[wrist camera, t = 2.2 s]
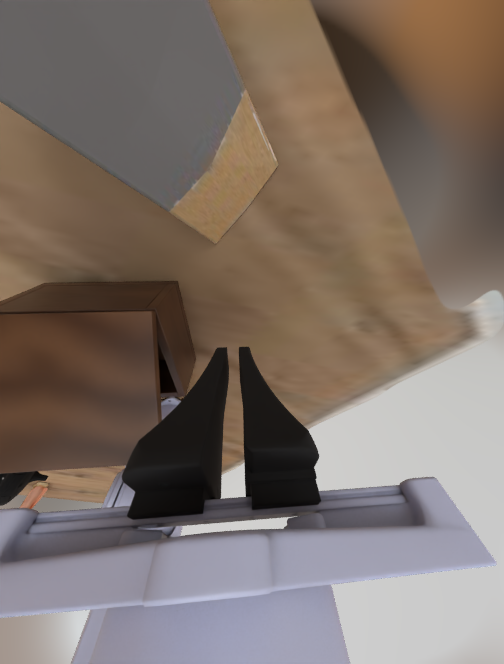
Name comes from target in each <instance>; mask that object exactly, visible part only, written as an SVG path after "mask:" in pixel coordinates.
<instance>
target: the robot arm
mask: <svg viewBox="0 0 504 664" xmlns="http://www.w3.org/2000/svg"><path fill="white" fill-rule="evenodd" d="M239 365H240V384H241V393H242V402H243V418H244V458H245V486H246V497H238V498H225V499H220V498H221V471H222V443H223V420H224V411H225V404H226V397H227V389H228V381H229V365H228V355H227V347H226V348H217V349H216V351H215V353H214V355H213V357H212V359H211V361H210V363H209V364H208V366H207V368H206V369H205V371H204V372H203V374H202V375H201V377H200V378H199V380H198V381H197V383H196V384H195V385H194V387H193V388H192V389H191V390H190V392H189V393H188V394H187V395H186V396H185V397H184V399H183V400H182V401H180V400H179V399H177V398H175V397H168V398H167V399H165V400H163V401H162V402H161V411H162V421H161V422H160V423H159V424H158V425H156V426H155V427H154V428H153V429H152V430H151V431H149V432H148V433H147V434H146V435H145V436H143V437H142V438H141V439H140V440H139V441H138V443H137V444H136V446H135V448H134V450H133V452H132V454H131V456H130V458H129V460H128V462H127V465H125V469H123V470H122V471H121V472H119V473H118V474H117V475H116V477H115V479H114V481H113V483H112V485H111V487H110V489H109V492H108V494H107V496H106V498H105V500H104V503H103V505H102V507H101V508H97V509H82V510H70V511H57V512H43V513H38V511H36V510H33V509H29V508H11V509H0V618H3V617H15V616H26V615H37V614H48V613H57V612H58V613H59V612H70V611H80V610H90V612H89V615H88V618H87V621H86V623H85V626H84V629H83V631H82V634H81V637H80V640H79V642H78V645H77V648H76V651H75V653H74V656H73V659H72V661H71V664H350V661H349V657H348V653H347V649H346V645H345V640H344V636H343V632H342V628H341V624H340V620H339V616H338V611H337V607H336V603H335V599H334V595H333V591H332V587H331V584H340V583H348V582H356V581H365V580H374V579H382V578H391V577H398V576H408V575H417V574H425V573H434V572H442V571H451V570H460V569H468V568H478V567H488V566H496V561H495V560H494V558H493V557H492V556H491V554H490V553H489V552H488V550H487V549H486V547H485V546H484V544H483V543H482V542H481V540H480V539H479V537H478V536H477V534H476V533H475V532H474V530H473V529H472V528H471V526H470V525H469V523H468V522H467V521H466V519H465V518H464V516H463V515H462V514H461V512H460V511H459V509H458V508H457V507H456V505H455V504H454V502H453V501H452V500H451V499H450V497H449V495H448V494H447V493H446V491H445V490H444V488H443V487H442V486H441V484H440V483H439V482H438V480H437V479H436V478H435V477H425V478H412V479H407V480H405V481H403V482H401V483H400V485H396V486H382V487H369V488H356V489H343V490H330V491H318V487H317V484H316V480H315V479H316V473H315V469H314V466H315V464H316V463H317V461H318V459H319V454H318V450H317V448H316V445H315V443H314V441H313V439H312V437H311V435H310V433H309V431H308V430H307V429H306V428H305V427H304V426H303V425H302V424H301V423H300V422H299V421H298V420H297V419H296V418H295V417H294V416H293V415H292V414H291V413H290V412H289V411H288V410H287V409H286V408H285V407H284V405H283V404H282V403H281V402H280V401H279V400H278V398H277V397H276V396H275V395H274V393H273V392H272V391H271V389H270V388H269V386H268V385H267V383H266V382H265V380H264V379H263V377H262V375H261V374H260V372H259V370H258V368H257V366H256V364H255V362H254V360H253V357H252V355H251V351H250V348H249V347H239ZM293 516H298V517H293ZM281 517H293V518H289V519H288V520H287V526H286V527H284V529H261V530H239V531H224V532H213V533H203V534H194V535H185V536H180V535H181V530H182V526H185V525H197V524H209V523H221V522H233V521H245V520H256V519H269V518H281Z"/></svg>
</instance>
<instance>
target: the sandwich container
mask: <svg viewBox="0 0 504 664" xmlns="http://www.w3.org/2000/svg"><path fill="white" fill-rule="evenodd" d="M0 102H2V103H3V104H5V105H6V106H8V107H9V108H11V109H12V110H14V111H15V112H17V113H18V114H20V115H22V116H23V117H25V118H26V119H28V120H29V121H31V122H32V123H34V124H35V125H37V126H38V127H40V128H41V129H43V130H44V131H46V132H47V133H49V134H50V135H52V136H53V137H55V138H57V139H58V140H60V141H61V142H63V143H64V144H66V145H67V146H69V147H70V148H72V149H73V150H75V151H76V152H78V153H79V154H81V155H82V156H84V157H85V158H87V159H89V160H90V161H92V162H93V163H95V164H96V165H98V166H99V167H101V168H102V169H104V170H105V171H107V172H108V173H110V174H111V175H113V176H114V177H116V178H118V179H119V180H121V181H122V182H124V183H125V184H127V185H128V186H130V187H131V188H133V189H134V190H136V191H137V192H139V193H140V194H142V195H143V196H145V197H146V198H148V199H149V200H151V201H153V202H154V203H156V204H157V205H159V206H160V207H162V208H163V209H165V210H166V211H168V212H169V213H171V214H172V215H174V216H175V217H177V218H178V219H180V220H181V221H183V222H184V223H186V224H187V225H189V226H190V227H191V228H193V229H194V230H196V231H197V232H199V233H200V234H202V235H203V236H205V237H206V238H208V239H209V240H211V241H212V242H214V243H215V244H216V243H217V242H218V241H219V240H220V239H221V237H222V236H223V235H224V234H225V233H226V232H227V231H228V229H229V228H230V227H231V226H232V225H233V224H234V223H235V221H236V220H237V219H238V218H239V217H240V216H241V215H242V213H243V212H244V211H245V210H246V209H247V207H248V206H249V205H250V203H251V202H252V201H253V199H254V198H255V196H256V195H257V194H258V192H259V191H260V190H261V188H262V187H263V186H264V184H265V183H266V181H267V180H268V179H269V177H270V176H271V175H272V173H273V172H274V170H275V169H276V168H277V166H278V162H277V160H276V157H275V155H274V153H273V150H272V148H271V146H270V143H269V141H268V139H267V136H266V134H265V132H264V129H263V127H262V125H261V122H260V120H259V118H258V115H257V113H256V111H255V108H254V106H253V104H252V101H251V99H250V97H249V94H248V92H247V90H246V87H245V85H244V83H243V80H242V78H241V76H240V73H239V71H238V68H237V66H236V64H235V61H234V59H233V57H232V54H231V52H230V50H229V47H228V45H227V42H226V40H225V38H224V35H223V33H222V31H221V28H220V26H219V24H218V21H217V19H216V16H215V14H214V12H213V9H212V7H211V5H210V2H209V0H0Z"/></svg>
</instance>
